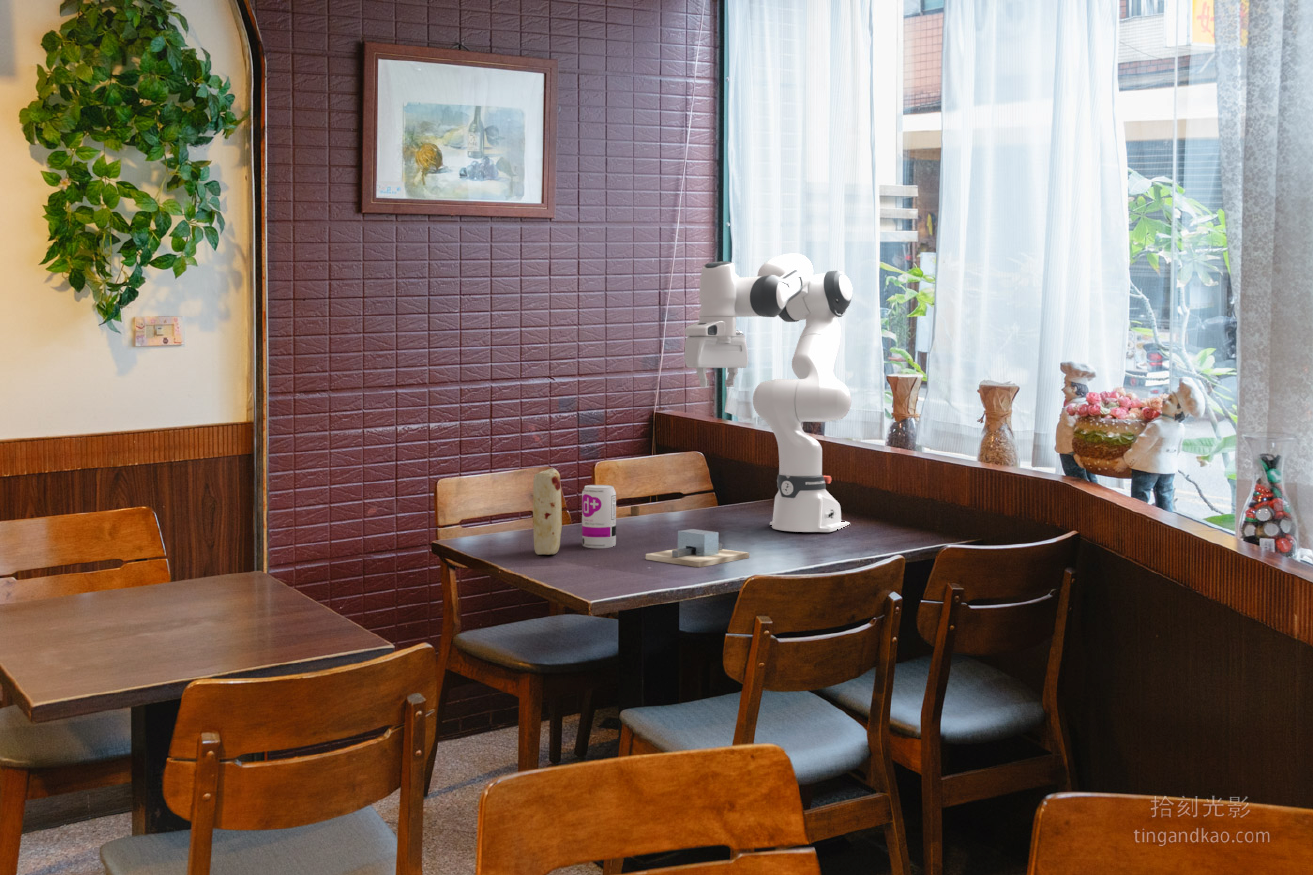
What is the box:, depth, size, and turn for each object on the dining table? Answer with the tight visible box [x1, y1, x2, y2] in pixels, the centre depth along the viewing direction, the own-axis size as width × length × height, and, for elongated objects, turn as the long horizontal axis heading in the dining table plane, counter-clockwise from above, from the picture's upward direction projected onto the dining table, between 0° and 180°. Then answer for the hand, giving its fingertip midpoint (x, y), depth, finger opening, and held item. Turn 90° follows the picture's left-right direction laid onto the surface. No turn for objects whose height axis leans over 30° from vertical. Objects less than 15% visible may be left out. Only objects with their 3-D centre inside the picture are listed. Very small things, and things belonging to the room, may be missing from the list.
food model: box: [532, 468, 563, 556], centre depth 280 cm, size 10×7×20 cm
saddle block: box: [677, 528, 720, 557], centre depth 275 cm, size 5×8×5 cm, turn 48°
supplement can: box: [581, 484, 617, 549], centre depth 290 cm, size 8×8×15 cm
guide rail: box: [671, 542, 723, 558], centre depth 275 cm, size 16×2×2 cm, turn 138°
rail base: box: [645, 548, 750, 568], centre depth 275 cm, size 18×16×1 cm
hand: (717, 387), depth 287 cm, fingers open, 8 cm apart
